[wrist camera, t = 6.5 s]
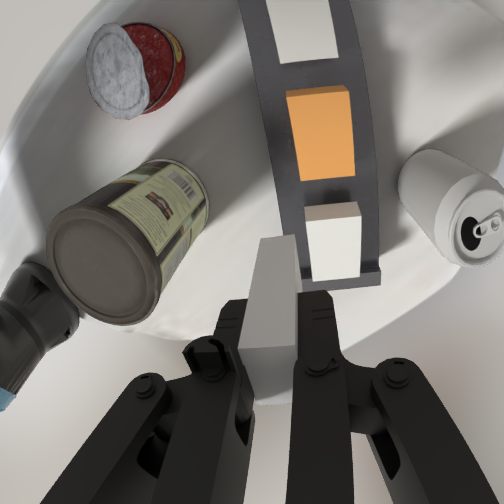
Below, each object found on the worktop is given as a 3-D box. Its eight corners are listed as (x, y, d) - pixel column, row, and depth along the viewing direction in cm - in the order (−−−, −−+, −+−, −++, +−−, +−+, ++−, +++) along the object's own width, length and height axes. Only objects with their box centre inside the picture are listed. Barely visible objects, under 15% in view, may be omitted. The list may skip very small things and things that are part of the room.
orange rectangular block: (350, 163, 24) (354, 175, 23) (299, 168, 25) (300, 181, 24) (343, 84, 20) (348, 91, 18) (285, 90, 21) (286, 97, 19)
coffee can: (118, 225, 35) (46, 291, 22) (136, 145, 30) (47, 185, 17) (193, 259, 35) (145, 345, 23) (224, 180, 30) (173, 244, 18)
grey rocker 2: (334, 54, 20) (338, 57, 19) (280, 60, 21) (280, 63, 20) (318, -23, 16) (321, -26, 14) (262, -16, 16) (260, -19, 15)
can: (383, 166, 27) (429, 210, 17) (442, 135, 25) (511, 163, 14) (410, 227, 30) (454, 293, 19) (464, 197, 27) (525, 249, 17)
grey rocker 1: (356, 260, 29) (359, 276, 27) (311, 265, 30) (312, 281, 28) (356, 200, 24) (361, 215, 23) (304, 206, 25) (305, 221, 23)
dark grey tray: (371, 261, 32) (380, 285, 28) (292, 269, 34) (290, 294, 30) (334, -20, 19) (340, -38, 15) (240, -9, 21) (230, -25, 17)
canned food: (191, 95, 31) (165, 148, 25) (112, 93, 30) (72, 144, 25) (195, 3, 21) (159, 29, 16) (103, 9, 21) (46, 42, 15)
